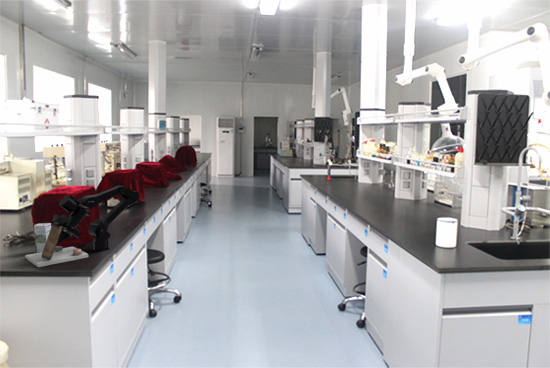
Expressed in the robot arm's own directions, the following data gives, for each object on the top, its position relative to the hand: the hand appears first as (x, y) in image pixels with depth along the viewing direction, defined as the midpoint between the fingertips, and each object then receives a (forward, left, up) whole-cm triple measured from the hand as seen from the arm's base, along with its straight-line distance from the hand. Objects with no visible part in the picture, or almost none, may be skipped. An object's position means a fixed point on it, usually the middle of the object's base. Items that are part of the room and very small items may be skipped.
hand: (53, 244), depth 193 cm
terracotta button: (-9, +3, -6) cm, 11 cm away
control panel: (-2, -4, -8) cm, 9 cm away
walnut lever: (+4, +1, -5) cm, 6 cm away
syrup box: (-1, -20, -8) cm, 22 cm away
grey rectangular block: (-4, -11, -5) cm, 13 cm away
